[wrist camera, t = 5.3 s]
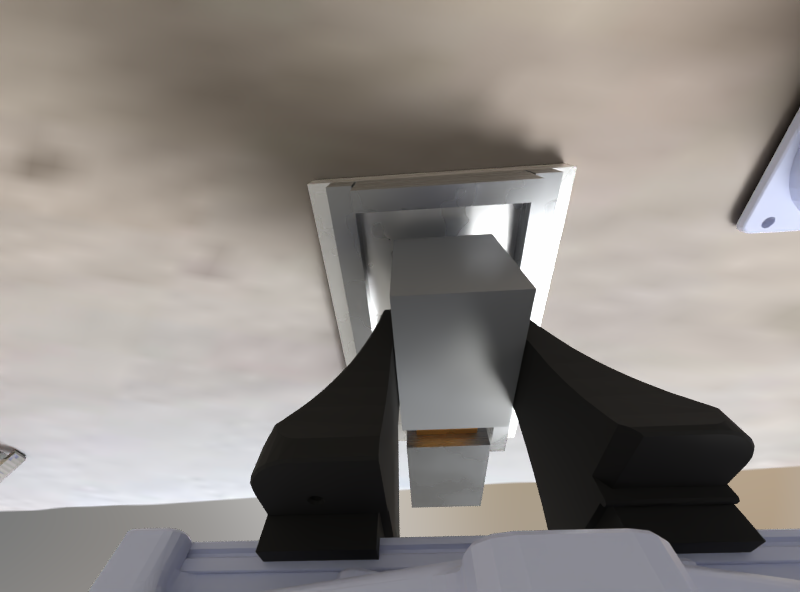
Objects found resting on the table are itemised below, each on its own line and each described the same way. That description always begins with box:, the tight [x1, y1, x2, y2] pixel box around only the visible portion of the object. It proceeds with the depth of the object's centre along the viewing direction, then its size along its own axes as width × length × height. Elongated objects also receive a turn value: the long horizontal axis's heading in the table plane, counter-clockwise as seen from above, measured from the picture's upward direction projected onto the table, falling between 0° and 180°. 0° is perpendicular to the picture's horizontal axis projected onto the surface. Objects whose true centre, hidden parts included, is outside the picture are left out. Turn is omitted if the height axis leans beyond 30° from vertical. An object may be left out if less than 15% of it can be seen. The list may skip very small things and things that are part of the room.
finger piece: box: [390, 234, 537, 431], centre depth 12 cm, size 4×6×4 cm, turn 4°
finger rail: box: [307, 163, 577, 507], centre depth 15 cm, size 11×18×6 cm, turn 4°
